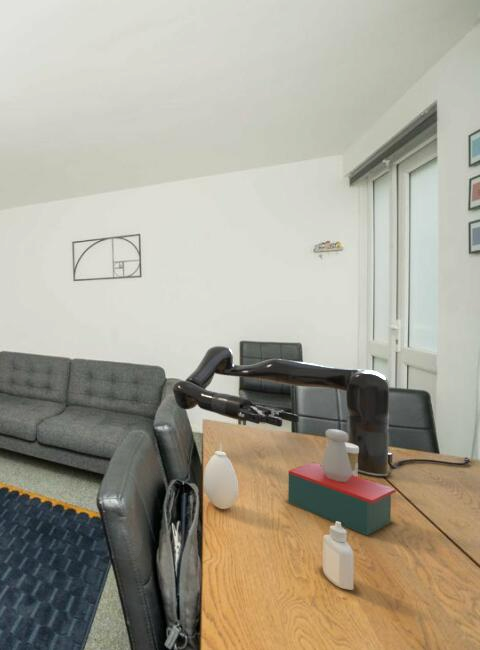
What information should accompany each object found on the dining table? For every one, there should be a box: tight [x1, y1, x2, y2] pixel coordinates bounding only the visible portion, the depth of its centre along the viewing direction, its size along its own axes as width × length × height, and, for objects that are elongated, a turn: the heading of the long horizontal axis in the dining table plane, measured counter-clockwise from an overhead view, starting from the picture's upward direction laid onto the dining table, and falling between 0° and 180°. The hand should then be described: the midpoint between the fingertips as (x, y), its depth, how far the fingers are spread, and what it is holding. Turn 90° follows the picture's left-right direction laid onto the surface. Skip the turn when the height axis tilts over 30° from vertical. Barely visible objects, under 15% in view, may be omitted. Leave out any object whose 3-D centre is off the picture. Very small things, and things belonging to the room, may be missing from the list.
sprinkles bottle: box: [345, 441, 359, 477], centre depth 107 cm, size 5×5×14 cm
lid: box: [288, 461, 397, 503], centre depth 95 cm, size 16×13×1 cm
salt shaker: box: [320, 428, 352, 482], centre depth 95 cm, size 6×6×13 cm
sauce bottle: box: [203, 442, 239, 510], centre depth 98 cm, size 8×8×18 cm
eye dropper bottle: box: [322, 521, 355, 591], centre depth 72 cm, size 4×6×12 cm
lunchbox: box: [287, 473, 392, 536], centre depth 95 cm, size 16×13×8 cm
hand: (290, 421), depth 105 cm, fingers open, 8 cm apart
